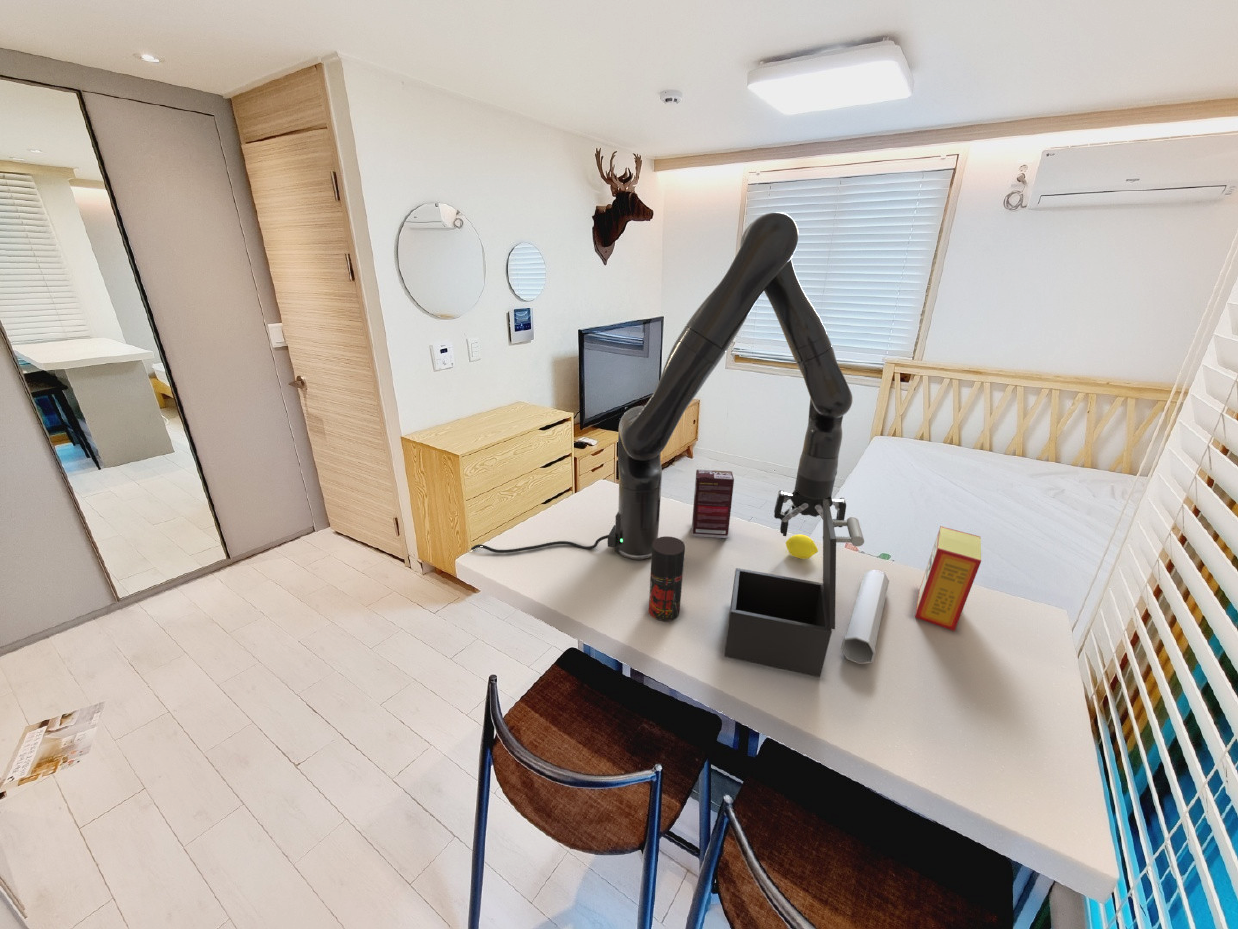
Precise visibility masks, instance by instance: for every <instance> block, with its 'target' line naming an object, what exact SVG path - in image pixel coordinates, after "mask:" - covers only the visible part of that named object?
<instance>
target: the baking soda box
mask: <svg viewBox="0 0 1238 929" xmlns="http://www.w3.org/2000/svg"><path fill="white" fill-rule="evenodd" d="M981 538H982V537H981V536H980V535H976V534H972V533H968V532H965V531H961V530H956V529H953V528H949V527H946V526H941V525H940V526H939V528H938V533H937V535H936V539H935V540H934V544H933V547H932V550H931V554H930V556H929V559H928V562H927V566H926V569H925V572H924V574H923V578H922V580H921V584H920V586H919V590H918V594H917V601H916V608H915V615H914V618H915V619H917V620H921V621H924V622H927V623H930V624H933V625H935V626H938V627H941V628H945V629H946V630H950V631H953V632H955V631H956V628H957V626H958V623H959V620H960V618H961V615H962V613H963V610H964V607H965V605H966V603H967V600H968V598H969V595H970V592H971V589H972V586H973V584H974V582H975V579H976V576H977V574H978V571H979V568H980V566H981V563H982V540H981Z"/></svg>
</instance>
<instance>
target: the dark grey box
mask: <svg viewBox="0 0 1238 929" xmlns="http://www.w3.org/2000/svg"><path fill="white" fill-rule="evenodd" d="M730 600H731V601H730V608H729V615H728V624H727V631H726V638H725V639H726V640H725V648H724V658H725V657H726V658H729V659H734V660H738V661H739V660H740V661H744V662H748V663H754V664H758V665H762V666H765V667H771V668H775V669H779V670H785V671H788V672H794V673H798V674H803V675H808V676H812V677H816V678H821V677H822V676H821V675H822V672H823V668H824V664H825V659H826V656H827V652H828V649H829V644H830V640H831V636H832V630H833V629H830V628H829V621H828V614H827V607H826V600H825V592H824V585H823V582H818V581H812V580H806V579H801V578H796V577H791V576H790V577H789V576H784V575H779V574H773V573H767V572H761V571H756V570H752V569H751V570H750V569H744V568H739V567H736V568H735V572H734V579H733V585H732V593H731V599H730Z"/></svg>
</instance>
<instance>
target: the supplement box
mask: <svg viewBox="0 0 1238 929" xmlns="http://www.w3.org/2000/svg"><path fill="white" fill-rule="evenodd" d="M734 483H735V478H734V474H733V471H732V470H730V471H729V470H714V469H713V470H710V469H696V471H695V482H694V494H693V507H692V517H691V530H692V532H691V533H692V537H697V538H698V537H699V538H717V539H728V538H729V530H730V521H731V513H732V512H731V511H732V504H733V495H734V494H733V493H734Z"/></svg>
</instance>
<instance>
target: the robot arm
mask: <svg viewBox="0 0 1238 929" xmlns="http://www.w3.org/2000/svg"><path fill="white" fill-rule="evenodd" d="M739 242H740V243H739V249H738V252H737V253H736V255H735V257H734V259H733V261H732V262H731V265H730V266H729V268H728V270H727V272H726V273H725V275H724V276H723V278H722V279H721V281H720V282H719V283H718V284H717V286H716V287H715V288H714V289H713V290H712V291H711V293H710V294H709V295H708V296H707V297H706V298H705V299H704V301H703V302H702V303H701V304H700V305H699V307H698V308H697V309H696V310H695V312H694V313H693V314H692V316H690V318H689V320H687V321H688V322H686V324H685V326H684V327H683V329H682V331H681V332H680V333H679V335H678V337H677V338H676V340H675V342H674V344H673V345H672V347H671V349H670V352H669V354H668V356H667V359H666V361H665V363H664V367H663V369H662V372H661V376H660V378H659V381H658V384H657V386H656V388H655V390H654V392H653V393H652V395H651V396H650V398H649V399H648V401H647V402H646V404H645V405H644V406H643V405H640V406H639V405H637V406H633V407H631V408H629V409H628V410H627V411H626V412H625V413H624V414H623V415H622V416H621V418H620V420H619V423H618V432H617V433H618V434H617V436H618V437H617V439H618V440H617V448H618V449H617V467H618V504H617V505H618V507H617V508H618V511H617V512H616V514H615V520H614V522H615V524H614V525H613V526H612V528H611V530H610V531H609V533H608V534H606V535H603V536H601V537H599V538H597V539H596V540H595V542H594V543H593V545H588V546H584V545H581V544H578V543H575V542H572V541H567V540H557V541H552V542H546V543H541V544H536V545H531V546H523V547H518V548H511V549H510V548H509V549H497V548H493V547H490V546H488V545H484V544H481V543H479V544H475V545H473V546H472V547H470V550H471V551H474V550H476V549H481V548H482V549H484V550H487V551H490V552H491V553H496V554H508V553H509V554H510V553H517V552H523V551H529V550H537V549H541V548H545V547H551V546H557V545H568V546H572V547H575V548H579V549H583V550H592V549H595V548H597V547H598V545H599V543H600V542H601V541H603V540H606V539H607V547H608V548H613V549H614V553H618V554H620V555H621V556H622V557H624V558H627V559H629V560H634V561H635V560H636V561H642V560H643V561H644V560H647V559H651V556H652V543H653V541H654V540H655V539H657V538H659V533H660V532H659V531H660V515H661V513H660V512H661V497H662V483H663V482H662V480H663V469H662V461H661V453H662V452H663V451H664V449H665V448H666V446H667V445H668V443H669V440H670V439H671V437H672V435H673V433H674V432H675V429H676V428H677V426H678V424H679V422H680V420H681V418H682V417H683V415H684V413H685V411H686V410H687V408H688V407H689V405H690V404H691V402H692V401H693V400H694V399H695V397H696V396H697V394H698V393H699V392H700V390H701V389H702V387H703V386H704V384H705V383H706V381H707V380H708V378H710V375H711V374H712V373H713V371H714V370H715V369H716V367H717V366H718V364H719V363H720V362H721V360H722V359H723V357H724V355H725V354H726V353H727V352H728V350H729V348H730V347H731V345H732V344H733V341H734V340H735V339H736V336H738V334H739V331H740V330H741V328H742V327H743V325H744V323H745V321H746V320H747V318H748V316H749V315H750V313H751V311H752V310H753V308H754V306H755V304H756V302H757V301H758V300H759V298H760V297H761V295H762V294H763V293H765V295H766V298H767V299H768V301H769V303H770V305H771V307H772V310H773V312H774V314H775V316H776V319H777V321H778V323H779V326H780V328H781V330H782V333H783V336H784V338H785V341H786V343H787V345H788V348H789V350H790V353H791V355H792V357H793V360H794V362H795V364H796V366H797V368H798V370H799V371H800V373H801V375H802V377H803V380H804V383H805V386H806V389H807V392H808V395H809V397H810V399H809V408H808V420H807V422H808V423H807V428H806V430H805V435H804V441H803V447H802V451H801V455H800V457H799V463H798V468H797V472H796V479H795V484H794V490H793V491H792V493H789V492H785V491H784V490H783V489H780V490H778V494H777V497H776V501H775V504H774V509H773V513H774V514H773V517H774V519H778V520H780V521H781V522H780V527H779V532H780V534H782V537H787V534H788V529H789V521H790V520H791V519H793V518H795V517H797V516H798V515H799V514H801V516H810V517H814V518H817V517H820V518H821V520H823V499H828V501H829V506H830V508H831V507H832V506H834V509H835V510H836V516H835V517H836V518H832V520H845V518H846V510H847V502H846V499H845V497H839V499H835V498H832V495H833V491H834V485H835V481H836V477H837V474H838V466H839V456H840V452H841V446H842V442H843V428H842V424H843V418H844V416H845V415H846V414H847V413H848V412H849V411H850V409H851V407H852V405H853V393H852V390H851V389H850V387H849V384H848V382H847V380H846V377H845V376H844V373H843V372H842V369H841V368H840V366H839V363H838V360H837V357H836V353H835V350H834V348H833V345H832V342H831V340H830V337H829V334H828V333H827V330H826V327H825V326H824V323H823V321H822V319H821V317H820V315H819V314H818V312H817V311H816V309H815V308H814V306H813V304H812V303H811V301H810V300H809V298H808V296H807V295H806V293H805V291H804V290H803V288H802V286H801V283H800V281H799V278H798V276H797V274H796V271H795V267H794V264H793V260H792V258H793V256H794V254H795V252H796V250H797V247H798V244H799V228H798V226H797V223H796V222H795V220H794V218H792V217H791V216H790V215H789V214H787V213H785V212H779V211H775V212H773V211H772V212H768V213H765V214H762V215H760V216H759V217H756V219H755V220H753V221H752V222H751V223H750V224H749V225H748V226H747V227H746V228H745V230H744V231H743V233H742V235H741V237H740V241H739ZM789 500H790V501H791V503H792V504H791V505H789V507H788V508H787V509H786V510H784V511H782V510H783V506H784V504H786V503H788V501H789ZM843 527H844V526H834V528H843ZM480 546H483V547H480Z"/></svg>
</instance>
